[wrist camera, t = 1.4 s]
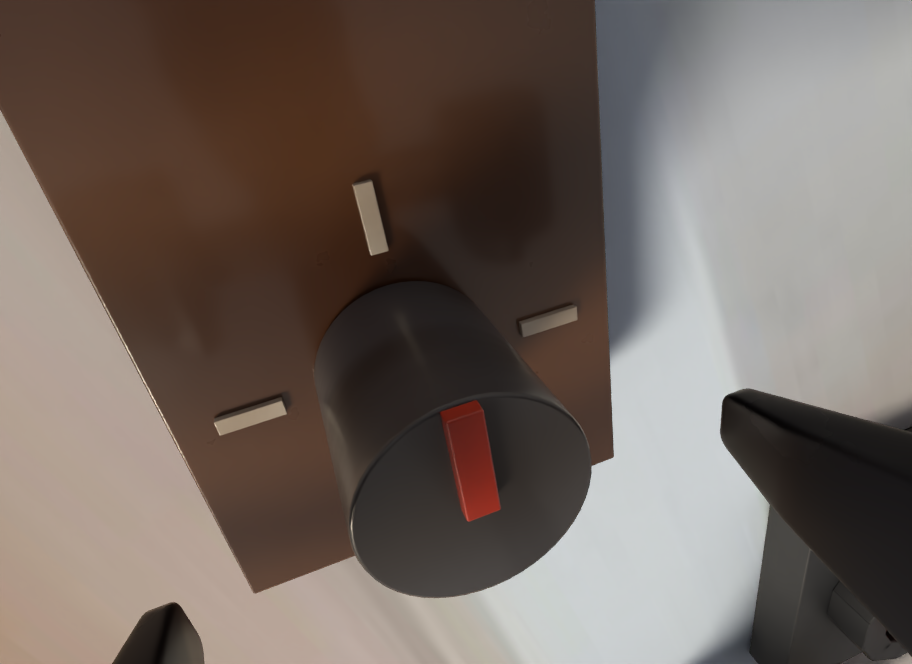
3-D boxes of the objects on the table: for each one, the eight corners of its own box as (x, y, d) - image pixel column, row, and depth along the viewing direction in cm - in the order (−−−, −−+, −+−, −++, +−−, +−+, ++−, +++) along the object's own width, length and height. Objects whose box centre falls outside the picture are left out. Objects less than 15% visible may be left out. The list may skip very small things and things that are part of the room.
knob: (502, 408, 14) (607, 557, 10) (341, 464, 14) (386, 649, 10) (479, 257, 12) (597, 368, 8) (288, 312, 12) (317, 465, 8)
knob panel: (563, 400, 19) (617, 461, 16) (250, 510, 17) (253, 600, 14) (514, -147, 12) (593, -196, 9) (-25, -68, 10) (-117, -101, 7)
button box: (900, 580, 33) (977, 643, 29) (748, 652, 31) (812, 730, 27) (956, 408, 27) (1060, 463, 23) (772, 484, 25) (857, 557, 21)
